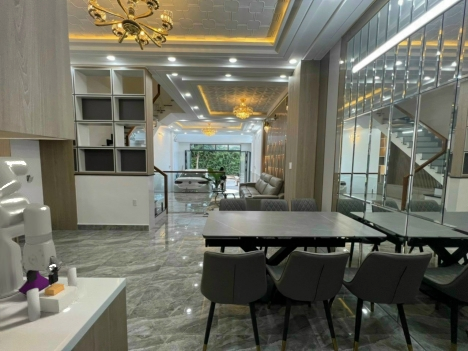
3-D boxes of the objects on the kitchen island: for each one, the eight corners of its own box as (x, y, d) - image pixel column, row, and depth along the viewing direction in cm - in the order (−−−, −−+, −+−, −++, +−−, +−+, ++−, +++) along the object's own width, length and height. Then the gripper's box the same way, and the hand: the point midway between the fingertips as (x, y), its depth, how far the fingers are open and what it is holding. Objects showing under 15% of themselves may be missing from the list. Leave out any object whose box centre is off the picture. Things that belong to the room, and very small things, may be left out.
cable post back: (66, 294, 89) (64, 270, 89) (73, 290, 92) (71, 267, 91) (73, 294, 89) (71, 271, 88) (79, 290, 92) (77, 267, 91)
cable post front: (26, 321, 74) (24, 293, 74) (35, 314, 77) (33, 287, 77) (34, 322, 74) (31, 293, 73) (43, 315, 77) (40, 288, 76)
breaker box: (31, 309, 80) (30, 296, 80) (52, 296, 88) (51, 284, 88) (59, 312, 78) (58, 299, 78) (78, 298, 86) (77, 286, 86)
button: (45, 299, 81) (44, 289, 81) (55, 293, 85) (54, 283, 85) (54, 300, 81) (53, 290, 80) (64, 293, 85) (63, 283, 84)
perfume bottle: (52, 288, 94) (49, 247, 92) (35, 299, 86) (31, 255, 85) (37, 287, 94) (33, 247, 93) (18, 298, 87) (14, 254, 86)
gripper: (8, 241, 80) (12, 286, 81) (48, 243, 77) (52, 289, 78) (30, 234, 87) (34, 275, 88) (68, 235, 84) (71, 278, 86)
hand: (42, 282), depth 83 cm, fingers open, 9 cm apart
